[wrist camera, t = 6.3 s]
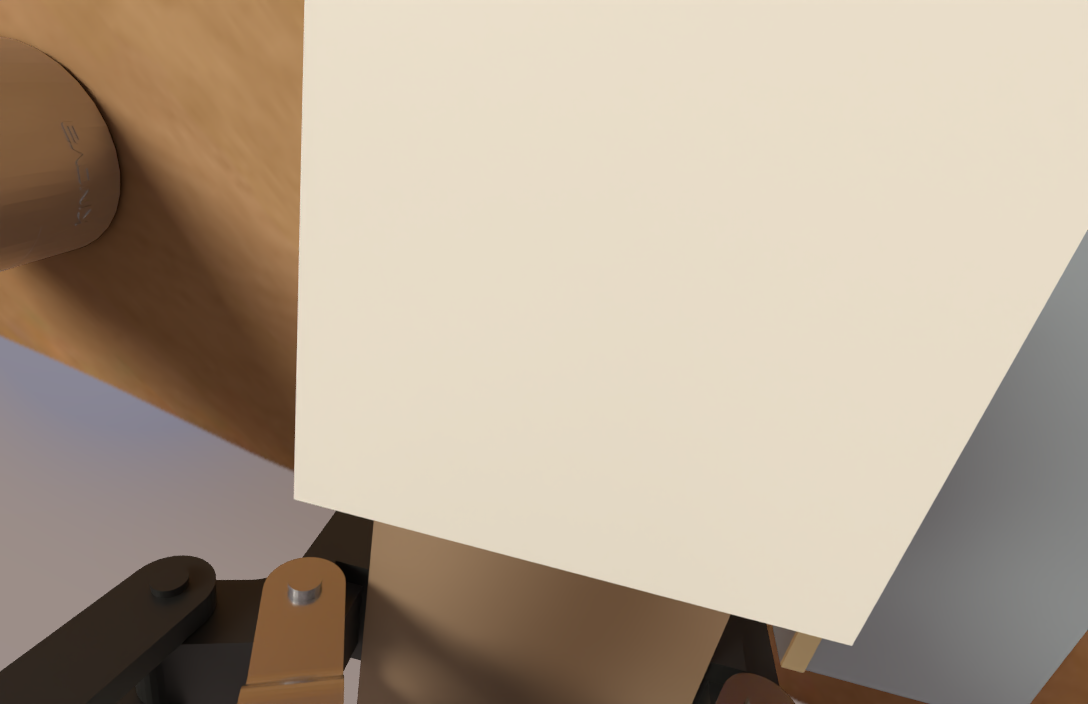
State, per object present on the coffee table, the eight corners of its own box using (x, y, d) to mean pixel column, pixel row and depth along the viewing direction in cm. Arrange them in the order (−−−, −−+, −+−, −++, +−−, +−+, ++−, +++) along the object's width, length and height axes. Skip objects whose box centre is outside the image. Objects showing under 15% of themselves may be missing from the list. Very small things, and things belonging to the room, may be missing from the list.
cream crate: (452, 311, 8) (293, 499, 5) (502, -46, 6) (308, -202, 3) (760, 383, 8) (851, 645, 4) (894, 31, 6) (1236, -30, 3)
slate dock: (766, 595, 31) (780, 666, 28) (1031, 15, 20) (1115, 2, 17) (970, 649, 31) (1014, 730, 27) (1360, 77, 20) (1528, 77, 16)
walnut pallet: (401, 759, 19) (335, 941, 15) (524, -79, 10) (437, -181, 6) (578, 810, 19) (558, 1010, 15) (873, -11, 10) (1028, -72, 6)
